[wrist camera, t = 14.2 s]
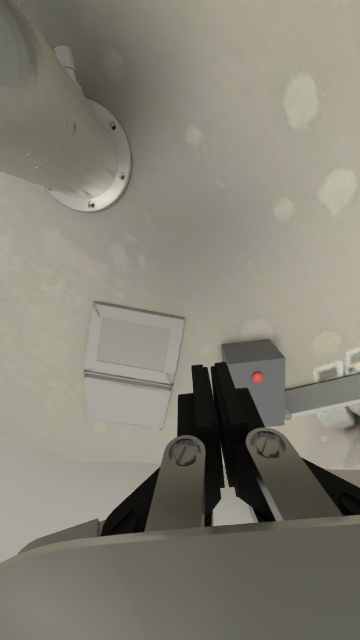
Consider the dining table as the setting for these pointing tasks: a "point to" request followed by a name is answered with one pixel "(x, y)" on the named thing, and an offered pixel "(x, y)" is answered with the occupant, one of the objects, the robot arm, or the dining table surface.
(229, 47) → the dining table surface
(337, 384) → the side door
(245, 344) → the gray box with knob
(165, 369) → the gadget
